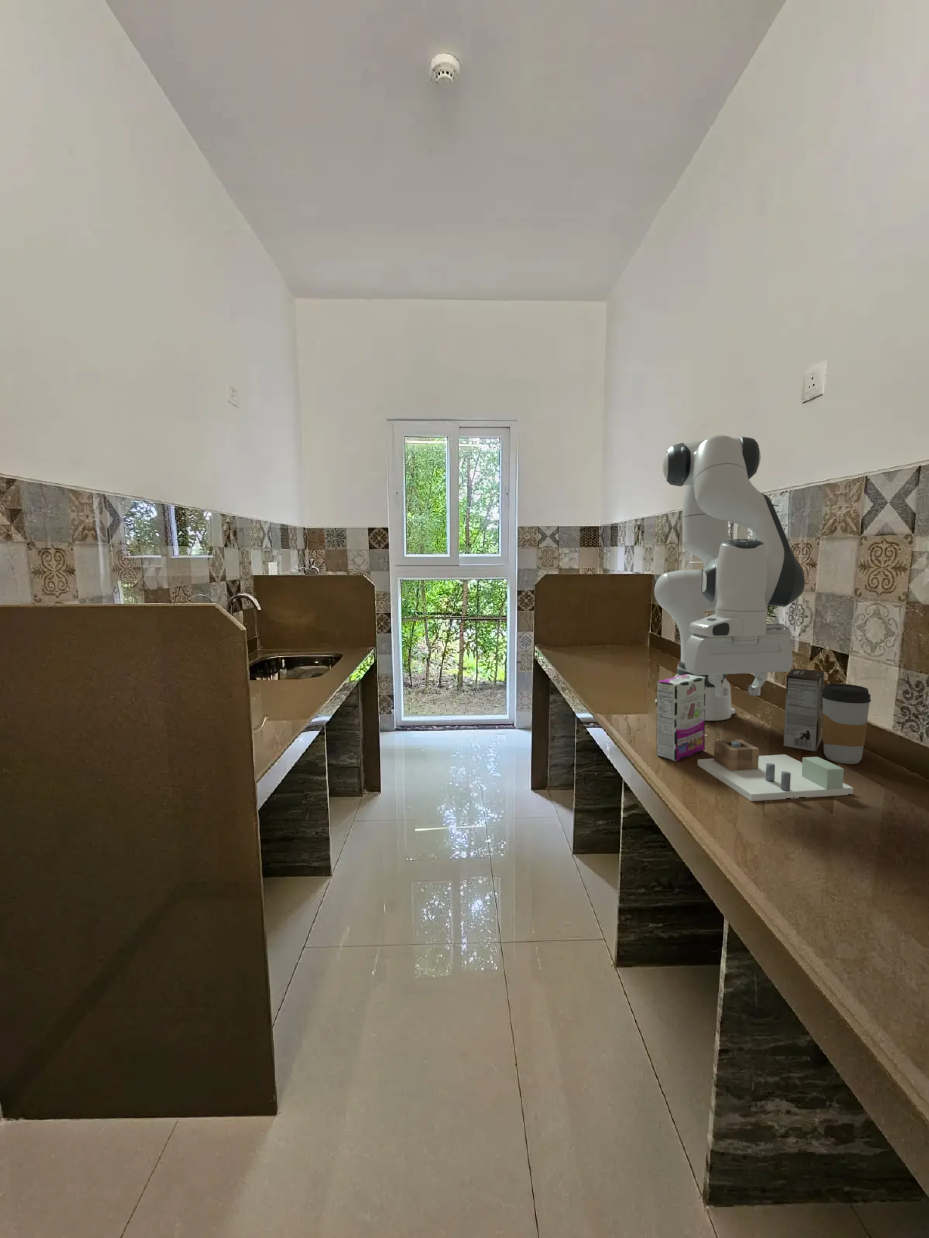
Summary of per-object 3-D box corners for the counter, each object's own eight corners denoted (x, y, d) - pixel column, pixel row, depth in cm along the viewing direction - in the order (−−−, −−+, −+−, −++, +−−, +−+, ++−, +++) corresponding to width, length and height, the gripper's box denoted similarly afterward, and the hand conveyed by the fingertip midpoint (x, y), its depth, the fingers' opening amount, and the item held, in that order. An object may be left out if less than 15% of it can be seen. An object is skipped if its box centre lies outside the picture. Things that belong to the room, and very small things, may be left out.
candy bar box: (684, 745, 121) (685, 673, 119) (705, 751, 117) (707, 676, 115) (654, 755, 114) (655, 680, 113) (675, 762, 110) (677, 684, 109)
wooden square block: (713, 760, 108) (714, 740, 107) (740, 758, 108) (740, 739, 108) (730, 770, 102) (731, 750, 102) (758, 769, 103) (758, 748, 102)
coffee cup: (876, 767, 106) (880, 692, 105) (829, 764, 108) (832, 691, 106) (854, 752, 114) (858, 683, 113) (811, 750, 116) (814, 682, 115)
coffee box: (789, 735, 126) (792, 668, 125) (822, 741, 122) (825, 671, 121) (782, 746, 119) (785, 674, 118) (816, 751, 115) (820, 677, 114)
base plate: (697, 765, 109) (698, 737, 108) (784, 760, 111) (786, 733, 110) (751, 801, 92) (752, 768, 91) (852, 794, 94) (854, 762, 93)
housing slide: (801, 775, 99) (802, 757, 99) (816, 775, 100) (817, 756, 99) (826, 789, 93) (827, 769, 93) (842, 788, 94) (843, 768, 93)
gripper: (779, 621, 107) (776, 689, 108) (681, 624, 105) (680, 694, 106) (802, 624, 101) (799, 697, 102) (699, 628, 98) (697, 702, 100)
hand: (737, 695), depth 104 cm, fingers open, 5 cm apart
